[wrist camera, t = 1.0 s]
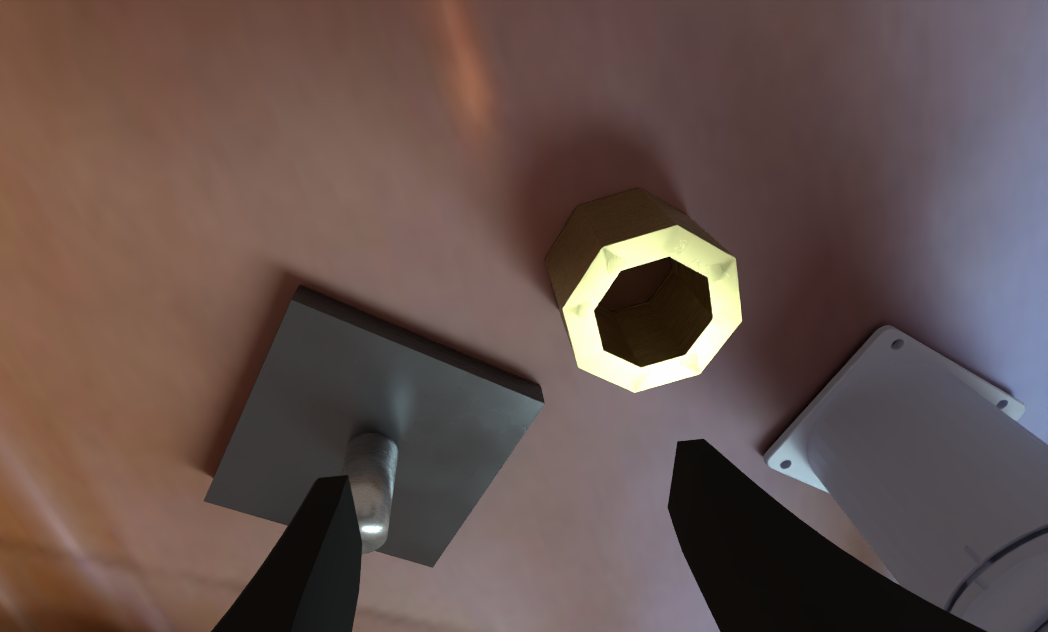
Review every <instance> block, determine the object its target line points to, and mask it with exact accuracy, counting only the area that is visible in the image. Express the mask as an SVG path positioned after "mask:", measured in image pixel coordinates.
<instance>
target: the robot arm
mask: <svg viewBox="0 0 1048 632" xmlns="http://www.w3.org/2000/svg"><path fill="white" fill-rule="evenodd" d="M895 340H897V341H896V342H895V343H894V344H893V345H892V343H893V342H894V341H895ZM1025 409H1026V407H1025V405H1024V403H1022V402H1021V401H1019V400H1018V399H1016V398H1014V397H1013V396H1011V395H1009V394H1008V393H1006V392H1004V391H1002V390H1001V389H999V388H997V387H996V386H994V385H992V384H990V383H989V382H987V381H985V380H984V379H982V378H980V377H978V376H977V375H975V374H973V373H972V372H970V371H968V370H967V369H965V368H963V367H961V366H960V365H958V364H956V363H955V362H953V361H951V360H949V359H948V358H946V357H944V356H943V355H941V354H939V353H937V352H936V351H934V350H932V349H931V348H929V347H927V346H926V345H924V344H922V343H920V342H919V341H917V340H915V339H914V338H912V337H910V336H908V335H907V334H905V333H903V332H902V331H900V330H898V329H896V328H895V327H893V326H890V325H886V326H882V327H880V328H879V329H877V330H876V331H875V332H874V333H873V334H872V336H871V337H870V338H869V339H868V340H867V341H866V342H865V343H864V344H863V345H862V347H861V348H860V349H859V350H858V351H857V352H856V353H855V354H854V355H853V357H852V358H851V359H850V360H849V361H848V362H847V363H846V364H845V365H844V366H843V368H842V369H841V370H840V371H839V372H838V373H837V374H836V375H835V376H834V377H833V379H832V380H831V381H830V382H829V383H828V384H827V385H826V386H825V387H824V389H823V390H822V391H821V392H820V393H819V394H818V395H817V396H816V397H815V398H814V400H813V401H812V402H811V403H810V404H809V405H808V406H807V407H806V408H805V410H804V411H803V412H802V413H801V414H800V415H799V416H798V417H797V418H796V419H795V421H794V422H793V423H792V424H791V425H790V426H789V427H788V428H787V429H786V431H785V432H784V433H783V434H782V435H781V436H780V437H779V438H778V439H777V440H776V442H775V443H774V444H773V445H772V446H771V447H770V448H769V449H768V450H767V452H766V453H765V454H764V458H763V459H764V461H765V463H766V464H767V466H768V467H770V468H772V469H774V470H776V471H778V472H781V473H783V474H785V475H788V476H790V477H792V478H795V479H797V480H799V481H802V482H804V483H806V484H809V485H811V486H813V487H816V488H818V489H820V490H822V491H825V492H827V493H829V494H831V496H832V497H833V498H834V500H835V501H836V502H837V504H838V505H839V506H840V507H841V509H842V510H843V511H844V513H845V514H846V515H847V517H848V518H849V519H850V520H851V522H852V523H853V524H854V526H855V527H856V528H857V530H858V531H859V532H860V533H861V535H862V536H863V537H864V539H865V540H866V541H867V543H868V544H869V545H870V546H871V548H872V549H873V550H874V552H875V553H876V554H877V556H878V557H879V558H880V559H881V561H882V562H883V563H884V565H885V566H886V567H887V569H888V570H889V571H890V572H891V574H892V575H893V576H894V578H895V579H896V580H897V582H898V583H899V584H900V585H901V586H900V585H898V584H896V583H895V582H893V581H891V580H890V579H888V578H886V577H885V576H883V575H881V574H880V573H878V572H876V571H875V570H873V569H871V568H870V567H868V566H867V565H865V564H864V563H862V562H861V561H859V560H858V559H856V558H854V557H853V556H851V555H850V554H848V553H847V552H845V551H844V550H842V549H841V548H839V547H838V546H836V545H835V544H833V543H832V542H830V541H829V540H828V539H826V538H825V537H823V536H822V535H821V534H819V533H818V532H817V531H815V530H814V529H813V528H811V527H810V526H809V525H807V524H806V523H804V522H803V521H802V520H800V519H799V518H798V517H796V516H795V515H794V514H793V513H791V512H790V511H789V510H787V509H786V508H785V507H784V506H782V505H781V504H780V503H779V502H777V501H776V500H775V499H774V498H772V497H771V496H770V495H769V494H768V493H766V492H765V491H764V490H763V489H761V488H760V487H759V486H758V485H757V484H756V483H754V482H753V481H752V480H751V479H750V478H748V477H747V476H746V475H745V474H744V473H743V472H741V471H740V470H739V469H738V468H737V467H736V466H735V465H733V464H732V463H731V462H730V461H729V460H728V459H726V458H725V457H724V456H723V455H722V454H721V453H720V452H718V451H717V450H716V449H715V448H714V447H713V446H712V445H710V444H709V443H708V442H707V441H706V440H704V439H697V440H687V441H678V442H677V448H676V455H675V462H674V469H673V475H672V482H671V489H670V496H669V502H668V510H669V513H670V516H671V519H672V523H673V526H674V529H675V532H676V535H677V538H678V540H679V543H680V546H681V549H682V552H683V554H684V556H685V558H686V560H687V563H688V565H689V567H690V569H691V571H692V573H693V575H694V577H695V580H696V582H697V584H698V586H699V588H700V590H701V592H702V594H703V596H704V598H705V600H706V603H707V605H708V607H709V609H710V611H711V613H712V615H713V617H714V619H715V621H716V623H717V625H718V628H719V630H720V632H1048V445H1047V444H1046V443H1045V442H1043V441H1042V440H1041V439H1039V438H1038V437H1037V436H1035V435H1034V434H1032V433H1031V432H1030V431H1028V430H1027V429H1026V428H1024V427H1023V426H1022V425H1020V424H1019V423H1018V422H1016V420H1017V419H1019V418H1020V417H1021V416H1022V415H1023V413H1024V412H1025ZM785 460H786V461H785ZM783 461H784V462H783ZM361 556H362V539H361V534H360V529H359V524H358V519H357V514H356V510H355V505H354V500H353V495H352V490H351V485H350V481H349V476H348V475H342V476H332V477H322V478H318V479H317V480H316V481H315V482H314V483H313V485H312V487H311V489H310V490H309V492H308V494H307V496H306V497H305V499H304V501H303V502H302V504H301V506H300V507H299V509H298V511H297V512H296V514H295V516H294V517H293V519H292V520H291V522H290V524H289V525H288V527H287V528H286V530H285V531H284V533H283V535H282V536H281V538H280V539H279V540H278V542H277V543H276V545H275V546H274V548H273V549H272V551H271V552H270V554H269V555H268V557H267V558H266V560H265V561H264V563H263V564H262V566H261V567H260V568H259V570H258V571H257V573H256V574H255V575H254V577H253V578H252V579H251V581H250V582H249V583H248V585H247V586H246V587H245V589H244V590H243V591H242V593H241V594H240V595H239V597H238V598H237V599H236V601H235V602H234V604H233V605H232V606H231V607H230V609H229V610H228V611H227V612H226V614H225V615H224V616H223V617H222V619H221V620H220V621H219V622H218V624H217V625H216V626H215V627H214V629H213V630H212V631H211V632H352V627H353V622H354V616H355V611H356V605H357V599H358V594H359V584H360V571H361Z"/></svg>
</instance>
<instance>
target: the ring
mask: <svg viewBox="0 0 1048 632" xmlns="http://www.w3.org/2000/svg"><path fill="white" fill-rule="evenodd" d="M666 257H670V259H671V265H672V270H671V271H670V273H669V274H668V276H667V277H666V278H665V280H664V281H663V283H662V284H661V285H660V287H659V288H658V290H657V291H656V292H655V294H654V295H653V297H652V298H651V299H650V301H647V302H644V303H640V304H637V305H634V306H630V307H627V308H623V309H620V310H616V311H613V312H612V311H610V310H608V309H606V308H604V307H601V306H599V305H598V304H599V302H600V301H601V299H602V298H603V296H604V295H605V293H606V292H607V290H608V289H609V287H610V286H611V284H612V283H613V281H614V280H615V278H616V277H617V275H618V274H619V272H620V271H622V270H625V269H628V268H632V267H635V266H639V265H642V264H645V263H649V262H652V261H656V260H659V259H663V258H666ZM545 261H546V265H547V268H548V272H549V276H550V279H551V283H552V286H553V290H554V294H555V297H556V301H557V305H558V308H559V312H560V315H561V318H562V321H563V323H564V326H565V329H566V332H567V335H568V338H569V341H570V344H571V347H572V350H573V353H574V356H575V359H576V362H577V365H578V368H580V369H583V370H585V371H587V372H589V373H592V374H594V375H596V376H599V377H601V378H603V379H605V380H608V381H610V382H612V383H614V384H617V385H619V386H621V387H623V388H626V389H628V390H630V391H632V392H638V391H642V390H645V389H649V388H652V387H656V386H659V385H663V384H666V383H670V382H673V381H677V380H680V379H684V378H687V377H691V376H694V375H698V374H700V373H701V372H702V371H703V369H704V368H705V367H706V366H707V364H708V363H709V362H710V361H711V359H712V358H713V357H714V355H715V354H716V353H717V352H718V350H719V349H720V348H721V347H722V345H723V344H724V343H725V342H726V340H727V339H728V338H729V337H730V335H731V334H732V333H733V332H734V330H735V329H736V328H737V327H738V325H739V324H740V323H741V321H742V315H741V305H740V296H739V286H738V276H737V267H736V258H735V257H734V256H733V255H731V254H730V253H729V252H728V251H727V250H726V249H725V248H724V247H722V246H721V245H720V244H719V243H718V242H717V241H716V240H715V239H714V238H712V237H711V236H710V235H709V234H708V233H707V232H706V231H705V230H703V229H702V228H701V227H700V226H699V225H698V224H697V223H696V222H695V221H693V220H692V219H691V218H690V217H689V216H687V215H685V214H684V213H682V212H680V211H679V210H677V209H675V208H673V207H672V206H670V205H668V204H666V203H665V202H663V201H661V200H660V199H658V198H656V197H654V196H653V195H651V194H649V193H647V192H646V191H644V190H642V189H641V188H636V189H633V190H629V191H626V192H623V193H619V194H616V195H613V196H609V197H606V198H602V199H599V200H596V201H592V202H589V203H586V204H582V205H579V206H577V207H576V209H575V210H574V212H573V214H572V215H571V217H570V219H569V220H568V222H567V224H566V225H565V227H564V228H563V230H562V232H561V233H560V235H559V237H558V238H557V240H556V242H555V243H554V245H553V246H552V248H551V250H550V251H549V253H548V255H547V256H546V258H545Z"/></svg>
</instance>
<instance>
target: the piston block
mask: <svg viewBox="0 0 1048 632" xmlns="http://www.w3.org/2000/svg"><path fill="white" fill-rule="evenodd" d="M544 404H545V403H544V398H543V394H542V389H541V386H539V385H536V384H534V383H532V382H529V381H527V380H525V379H522V378H520V377H517V376H515V375H513V374H510V373H508V372H506V371H503V370H501V369H498V368H496V367H494V366H491V365H489V364H487V363H484V362H482V361H479V360H477V359H475V358H472V357H470V356H468V355H465V354H463V353H460V352H458V351H456V350H453V349H451V348H449V347H446V346H444V345H441V344H439V343H437V342H434V341H432V340H430V339H427V338H425V337H422V336H420V335H418V334H415V333H413V332H411V331H408V330H406V329H403V328H401V327H399V326H396V325H394V324H392V323H389V322H387V321H384V320H382V319H380V318H377V317H375V316H373V315H370V314H368V313H365V312H363V311H361V310H358V309H356V308H354V307H351V306H349V305H346V304H344V303H342V302H339V301H337V300H335V299H332V298H330V297H327V296H325V295H323V294H320V293H318V292H316V291H313V290H311V289H308V288H306V287H304V286H301V285H299V287H298V289H297V291H296V293H295V294H294V296H293V298H292V300H291V302H290V304H289V306H288V309H287V311H286V313H285V316H284V318H283V320H282V323H281V325H280V327H279V329H278V332H277V334H276V336H275V339H274V341H273V343H272V345H271V348H270V350H269V352H268V355H267V357H266V359H265V362H264V364H263V366H262V368H261V371H260V373H259V375H258V378H257V380H256V382H255V384H254V387H253V389H252V391H251V394H250V396H249V398H248V401H247V403H246V405H245V407H244V410H243V412H242V414H241V417H240V419H239V421H238V423H237V426H236V428H235V430H234V433H233V435H232V437H231V440H230V442H229V444H228V446H227V449H226V451H225V453H224V456H223V458H222V460H221V462H220V465H219V467H218V469H217V472H216V474H215V476H214V479H213V481H212V483H211V485H210V488H209V490H208V492H207V495H206V497H205V499H204V501H205V502H208V503H212V504H215V505H219V506H222V507H225V508H229V509H232V510H236V511H239V512H243V513H246V514H250V515H253V516H257V517H260V518H263V519H267V520H270V521H274V522H277V523H281V524H284V525H289V524H290V522H291V520H292V519H293V517H294V516H295V514H296V512H297V511H298V509H299V507H300V506H301V504H302V502H303V501H304V499H305V497H306V496H307V494H308V492H309V490H310V489H311V487H312V485H313V483H314V482H315V481H316V480H317V479H318V478H322V477H332V476H342V475H348V476H349V481H350V485H351V490H352V495H353V500H354V505H355V510H356V514H357V519H358V524H359V529H360V534H361V539H362V554H365V553H370V552H372V551H377V552H381V553H384V554H388V555H391V556H395V557H398V558H402V559H405V560H408V561H412V562H415V563H419V564H422V565H426V566H429V567H433V566H434V565H435V563H436V562H437V561H438V559H439V558H440V556H441V555H442V553H443V552H444V550H445V549H446V547H447V546H448V544H449V543H450V542H451V540H452V539H453V537H454V536H455V534H456V533H457V531H458V530H459V528H460V527H461V525H462V524H463V523H464V521H465V520H466V518H467V517H468V515H469V514H470V512H471V511H472V509H473V508H474V506H475V505H476V504H477V502H478V501H479V499H480V498H481V496H482V495H483V493H484V492H485V490H486V489H487V487H488V486H489V485H490V483H491V482H492V480H493V479H494V477H495V476H496V474H497V473H498V471H499V470H500V469H501V467H502V466H503V464H504V463H505V461H506V460H507V458H508V457H509V455H510V454H511V452H512V451H513V450H514V448H515V447H516V445H517V444H518V442H519V441H520V439H521V438H522V436H523V435H524V433H525V432H526V431H527V429H528V428H529V426H530V425H531V423H532V422H533V420H534V419H535V417H536V416H537V414H538V413H539V412H540V410H541V409H542V407H543V406H544Z"/></svg>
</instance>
